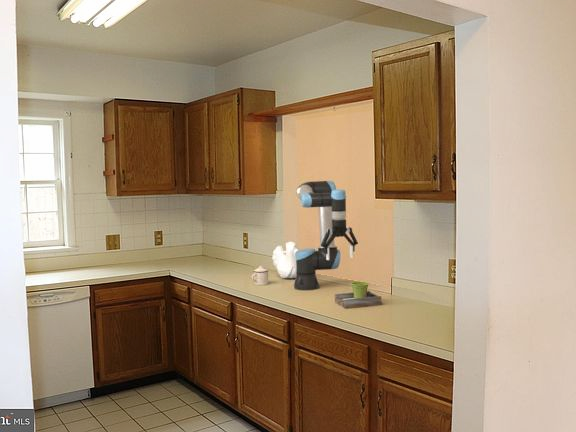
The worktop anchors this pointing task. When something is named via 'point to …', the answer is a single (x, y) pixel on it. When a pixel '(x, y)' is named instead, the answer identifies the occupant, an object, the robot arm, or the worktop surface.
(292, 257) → the decorative rooster
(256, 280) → the teacup with lid
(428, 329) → the worktop surface
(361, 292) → the plant pot
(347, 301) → the dock
